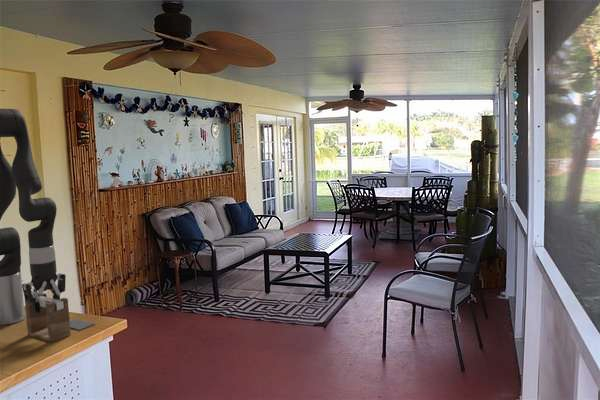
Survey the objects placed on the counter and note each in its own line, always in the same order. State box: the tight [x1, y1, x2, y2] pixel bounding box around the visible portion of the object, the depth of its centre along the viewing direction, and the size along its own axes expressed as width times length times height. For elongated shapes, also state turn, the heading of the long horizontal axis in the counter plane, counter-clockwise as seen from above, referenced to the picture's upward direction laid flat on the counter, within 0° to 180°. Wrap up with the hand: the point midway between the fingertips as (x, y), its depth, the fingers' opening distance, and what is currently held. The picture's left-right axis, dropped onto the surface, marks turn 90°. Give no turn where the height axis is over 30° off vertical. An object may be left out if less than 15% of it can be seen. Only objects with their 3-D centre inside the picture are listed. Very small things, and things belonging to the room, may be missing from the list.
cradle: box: [24, 292, 72, 343], centre depth 165 cm, size 13×6×12 cm, turn 61°
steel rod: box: [38, 296, 64, 310], centre depth 164 cm, size 14×2×2 cm, turn 61°
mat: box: [70, 318, 96, 332], centre depth 174 cm, size 10×6×1 cm, turn 61°
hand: (47, 309), depth 164 cm, fingers open, 6 cm apart
